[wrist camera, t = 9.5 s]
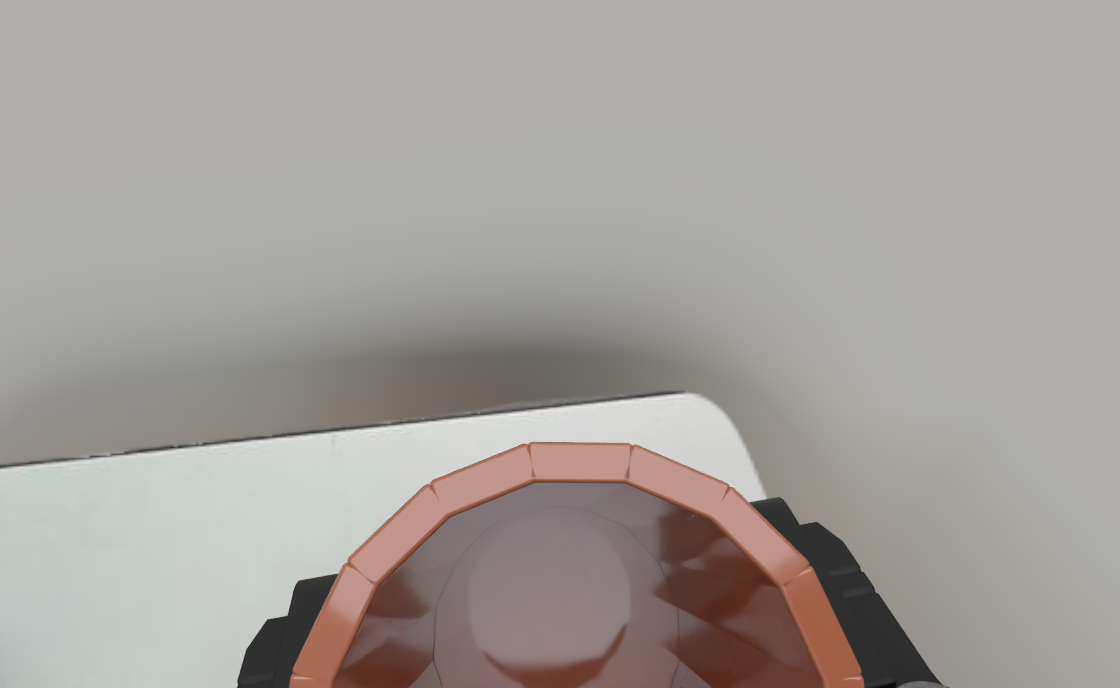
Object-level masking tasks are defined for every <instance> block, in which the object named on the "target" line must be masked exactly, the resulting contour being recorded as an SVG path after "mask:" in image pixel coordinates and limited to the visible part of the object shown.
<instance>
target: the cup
mask: <svg viewBox="0 0 1120 688" xmlns="http://www.w3.org/2000/svg"><path fill="white" fill-rule="evenodd" d="M347 562H348V563H345V564H344V565H343V566H342V568H341V570H340V572H339V574H338V576H337V578H336V580H335V582H334V584H333V586H332V588H331V590H330V593H329V595H328V597H327V599H326V601H325V603H324V605H323V607H322V609H321V611H320V613H319V615H318V617H317V619H316V621H315V623H314V625H313V627H312V630H311V632H310V634H309V636H308V638H307V640H306V642H305V644H304V646H303V648H302V650H301V652H300V654H299V656H298V658H297V660H296V662H295V664H294V667H293V674H292V675H291V678H290V684H289V688H865V687H864V679H863V676H862V675H861V674H860V673H861V668H860V665H859V663H858V661H857V659H856V657H855V655H854V653H853V651H852V649H851V646H850V644H849V642H848V640H847V638H846V636H845V634H844V632H843V630H842V628H841V625H840V623H839V621H838V619H837V617H836V615H835V613H834V611H833V609H832V606H831V604H830V602H829V600H828V598H827V596H826V594H825V592H824V590H823V588H822V585H821V583H820V581H819V579H818V577H817V575H816V573H815V571H814V569H813V567H812V566H809V562H808V560H807V559H806V558H805V557H804V556H803V555H802V554H801V553H800V552H799V551H798V550H797V549H796V548H795V547H794V546H793V545H792V544H791V543H790V542H789V541H788V540H787V539H785V538H784V537H783V536H782V535H781V534H780V533H779V532H778V531H777V530H776V529H775V528H774V527H773V526H772V525H771V524H770V523H769V522H768V521H767V520H766V519H765V518H764V517H763V516H762V515H761V514H760V513H759V512H758V511H757V510H756V509H755V508H754V507H753V506H752V505H751V504H750V503H749V502H748V501H747V500H746V499H745V498H744V497H743V496H742V495H741V494H740V493H738V492H737V491H736V490H735V489H734V488H732V487H729V485H728V484H727V483H725V482H723V481H721V480H718V479H716V478H714V477H711V476H709V475H706V474H704V473H702V472H699V471H697V470H695V469H692V468H690V467H688V466H685V465H683V464H681V463H678V462H676V461H673V460H671V459H669V458H666V457H664V456H662V455H659V454H657V453H655V452H652V451H650V450H648V449H645V448H643V447H641V446H638V445H631V444H629V443H574V442H531V443H529V445H528V444H522V445H519V446H517V447H514V448H512V449H509V450H507V451H504V452H502V453H499V454H497V455H494V456H492V457H489V458H487V459H484V460H482V461H479V462H477V463H474V464H472V465H469V466H467V467H464V468H462V469H459V470H457V471H454V472H452V473H449V474H447V475H444V476H442V477H439V478H437V479H434V480H433V481H432V482H430V485H429V484H427V485H425V486H423V487H422V488H421V489H420V490H419V491H418V492H417V493H416V494H415V495H414V496H413V497H412V498H411V499H410V500H409V501H408V502H406V503H405V504H404V505H403V506H402V507H401V508H400V509H399V510H398V511H397V512H396V513H395V514H394V515H393V516H392V517H391V518H390V519H389V520H387V521H386V522H385V523H384V524H383V525H382V526H381V527H380V528H379V529H378V530H377V531H376V532H375V533H374V534H373V535H372V536H371V537H370V538H368V539H367V540H366V541H365V542H364V543H363V544H362V545H361V546H360V547H359V548H358V549H357V550H356V551H355V552H354V553H353V554H352V555H351V556H349V558H348V560H347Z"/></svg>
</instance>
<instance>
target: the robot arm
mask: <svg viewBox="0 0 1120 688" xmlns="http://www.w3.org/2000/svg"><path fill="white" fill-rule="evenodd" d="M749 503H750V504H751V505H752V506H753V507H754V508H755V509H756V510H757V511H758V512H759V513H760V514H761V515H762V516H763V517H764V518H765V519H766V520H767V521H768V522H769V523H770V524H771V525H772V526H773V527H774V528H775V529H776V530H777V531H778V532H779V533H780V534H781V535H782V536H783V537H784V538H785V539H787V540H788V541H789V542H790V543H791V544H792V545H793V546H794V547H795V548H796V549H797V550H798V551H799V552H800V553H801V554H802V555H803V556H804V557H805V558H806V559H807V560H808V562H809V566H812V567H813V569H814V571H815V573H816V575H817V577H818V579H819V581H820V583H821V585H822V588H823V590H824V592H825V594H826V596H827V598H828V600H829V602H830V604H831V606H832V609H833V611H834V613H835V615H836V617H837V619H838V621H839V623H840V625H841V628H842V630H843V632H844V634H845V636H846V638H847V640H848V642H849V644H850V646H851V649H852V651H853V653H854V655H855V657H856V659H857V661H858V663H859V665H860V668H861V673H860V674H861V675H862V676H863V679H864V687H865V688H949V687H947V686H944V685H942V684H941V683H940V682H939V680H938V679H937V678H936V677H935V676H934V674H933V673H932V672H931V670H930V669H929V668H928V666H927V665H926V663H925V662H924V660H923V659H922V657H921V656H920V654H919V653H918V651H917V650H916V648H915V647H914V645H913V644H912V643H911V641H910V640H909V638H908V637H907V635H906V634H905V632H904V631H903V629H902V628H901V626H900V625H899V623H898V622H897V620H896V619H895V617H894V616H893V614H892V613H891V611H890V610H889V609H888V607H887V606H886V604H885V603H884V601H883V600H882V598H881V597H880V595H879V594H878V593H877V594H876V592H875V589H874V586H873V585H872V583H871V582H870V580H869V579H868V578H867V576H866V575H865V574H864V572H861V569H860V566H859V564H858V563H857V561H856V560H855V558H854V557H853V555H852V554H851V553H850V551H849V550H848V548H847V547H846V545H845V544H844V542H843V541H841V540H840V539H839V538H838V537H836V536H835V535H833V534H832V533H831V532H829V531H828V530H827V529H826V528H824V527H823V526H822V525H820V524H819V523H818V522H814V523H808V524H803V525H799V523H798V521H797V520H796V518H795V517H794V515H793V513H792V512H791V510H790V509H789V507H788V505H787V504H786V502H785V501H784V500H783V499H782V498H779V497H777V498H772V499H766V500H760V501H755V502H749ZM337 576H338V574H333V575H328V576H322V577H317V578H311V579H305V580H300V581H298V582H297V584H296V586H295V588H294V591H293V596H292V600H291V604H290V608H289V612H288V616H285V617H279V618H273V619H268V620H267V621H266V622H265V624H264V625H263V627H262V628H261V629H260V631H259V632H258V634H257V635H256V637H255V638H254V639H253V641H252V642H251V644H250V645H249V647H248V648H247V650H246V653H245V656H244V660H243V663H242V667H241V670H240V674H239V677H238V681H237V682H238V687H237V688H289V684H290V678H291V675H292V674H293V667H294V664H295V662H296V660H297V658H298V656H299V654H300V652H301V650H302V648H303V646H304V644H305V642H306V640H307V638H308V636H309V634H310V632H311V630H312V627H313V625H314V623H315V621H316V619H317V617H318V615H319V613H320V611H321V609H322V607H323V605H324V603H325V601H326V599H327V597H328V595H329V593H330V590H331V588H332V586H333V584H334V582H335V580H336V578H337Z"/></svg>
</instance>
